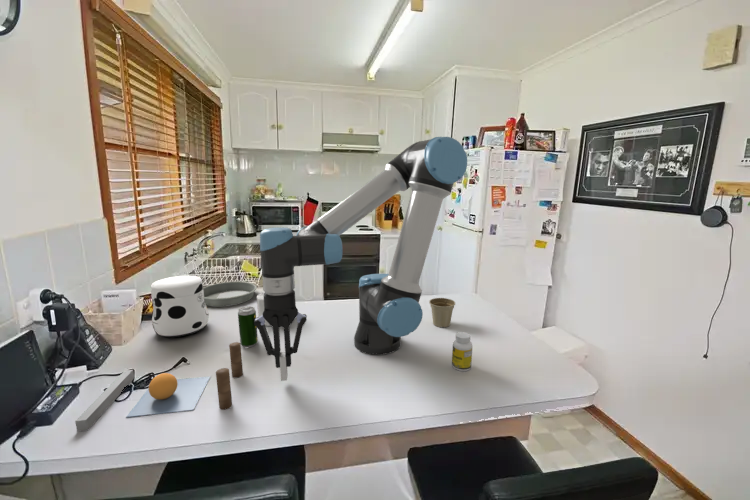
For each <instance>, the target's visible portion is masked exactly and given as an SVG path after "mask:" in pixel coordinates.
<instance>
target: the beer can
mask: <svg viewBox="0 0 750 500" xmlns="http://www.w3.org/2000/svg"><path fill="white" fill-rule="evenodd" d="M237 310H238V311H237V318H238V319H237V321H238V330H239V331H238V332H239V343H240V344H241V347H242V348H245V347H249V348H252V346H253V347H255V346H256V345H257V344H258V343H259V337H258V328H257V327H256V326H255V325H254V321H255V319H256V318H257V311H256V308H255V307H254V306H251V305H250V306H247V305H246V306H242V307H240V308H239V309H237Z"/></svg>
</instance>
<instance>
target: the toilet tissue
mask: <svg viewBox="0 0 750 500" xmlns="http://www.w3.org/2000/svg"><path fill="white" fill-rule="evenodd" d="M264 293H265V292H264V291H263V292H261V293H258V294H257V295H256V305H257V317H260V316H262V315H263V312H264ZM265 326H266V327H272V326H271V325H270V324H269V323H268V322H267V321H266V320H265Z"/></svg>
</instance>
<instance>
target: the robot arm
mask: <svg viewBox="0 0 750 500" xmlns="http://www.w3.org/2000/svg"><path fill="white" fill-rule="evenodd" d="M467 168H468V156H467V152H466V151H465V148H464V146H463V144H462V143H460V142H459V140H457V139H456V138H454V137H450V136H436V137H433V138H430V139H425V140H421V141H416V142H414V143H412V144H411V145H409V146H408V147H406V148H405V149H404V150H403V151H401V152H400V153H399V154H397V155H396V156H395V157H394V158H393V159H391V160H390V161H388V163H386V164H385V167H384V170H383V171H381V172H379V173H378V174H377V175H375V176H374V177H373V178H371V179H370V180H369V181H368V182H366V183H365V184H363V185H362V186H361V187H360V188H358V189H357V190H355V191H354V192H353V193H351V194H350V195H349V196H348V197H346V198H345V199H344V200H342V201H340V202H339V203H337V204H336V205H335V206H334V207H332V208H331V209H330V210H328V211H327V212H326V213H324V214H323V215H322V216H320V217H319V218H317V220H314V222H312V223H310V224H309V225H307V226H303V227H301V228H300V229H298V231H297V233H296V235H294V234H293V231H292V229H291V228H289V227H268V228H265V229H262V231H260V233H259V234H260V235H259V249H260V250H259V251H260V261H261V262H260V263H261V273H262V277H261V278H262V291H263V293H264V292H265V293H264V312H263V315H262V316H260V317H258V316H256V319H255V321H254V325H255V326H256V327H257V330H258V331H259V334H260V337H261V340H262V343H263V346H264V349H265V352H266V354H267V356H274V362H275V368H276V369H277V368H278V369H279V370H280V371H279V372H280V381H281V382H283V381H287V380H288V368H289V367H291V365H292V355H293V354H297V353H298V350H299V344H300V341H301V336H302V332H303V331H302V330H303V328H304V325H305V323H306V322H307V317H308V315H307V314H306V313H300V312H299V310H298V308H297V305H296V304H297V303H296V290H295V288H296V284H295V270H294V269H295V267H305V266H306V267H307V266H321V265H329V266H330V264H339V263H340V262H341V261H342V258H343V253H344V252H343V249H344V248H343V241H342V238H341V237H340V236H342V234H344V233H345V232H347V231H348V230H349V229H351V228H352V227H353V226H355V225H356V224H357V223H359V222H360V221H361V220H362V219H364V218H365V217H367V216H368V215H369V214H370V213H372V212H373V211H374V210H376V209H377V208H378V207H380V206H381V205H383V204H384V203H386V201H388V200H389V199H390V198H392V197H393V196H394V195H396V194H397V193H398V192H400V191H401V192H405V191H407V190H408V189H409V188H410V189H411V193H410V197H409V200H408V203H407V204H408V205H407V207H406V211H405V215H404V217H403V218H404V219H403V223H402V226H401V228H400V232H399V237H398V240H397V244H396V247H395V250H394V255H393V257H392V261H391V266H390V268H389V272H388V273H371V274H365V275H362V276H360V278H359V280H358V281H359V282H358V293H359V294H358V297H359V298H358V299H359V301H358V303H359V304H358V307H359V309H358V310H359V312H358V313H359V315H358V316H359V320H358V321H359V322H358V325H357V328H356V331H355V334H354V337H353V341H354V342H353V343H354V345H353V346H354V347H355V349H357V350H358V351H359V352H361V353H364V354H367V355H368V354H369V355H375V356H376V355H377V356H378V355H387V354H391V353H394V352H396V351H397V350H398V349H400V347H401V345H402V337H407V336H408V335H409V334H411V333H414V331H416V330H417V329H418V327H419V326H420V325H421V322H422V320H423V315H424V314H423V309H422V306H421V304H420V299H421V297H422V293H423V292H422V291H423V289H422V288H421V286H420V285H419V284H420V279H421V275H422V273H423V270H424V267H425V266H424V265H425V262H426V259H427V255H428V252H429V248H430V245H431V241H432V237H433V235H434V232H435V228H436V224H437V221H438V218H439V213H440V211H441V207H442V204H443V200H444V199H446V198H447V197H449V196H450V195H451V194H452V191H453V187H454V183H456V182H458V181H459V180H461V179H462V178H463V177H464V175H465V173H466V171H467ZM295 319H296V322H297V326H296V331H295V336H294V340H293V345H292V346H291V332H290V331H291V330H290V328H291V327H290V326H291V325H292V324H293V323H294V321H295ZM265 320H266V321H267V322H268V323H269V324H270V325H271V326H270V327H272V332H273V344H272V341H271V338H270V335H269V332H268V329H267V326H265ZM280 328H283V336H284V337H283V339H284V351H283V352H282V351H281V350H282V349H281V334H280Z"/></svg>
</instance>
